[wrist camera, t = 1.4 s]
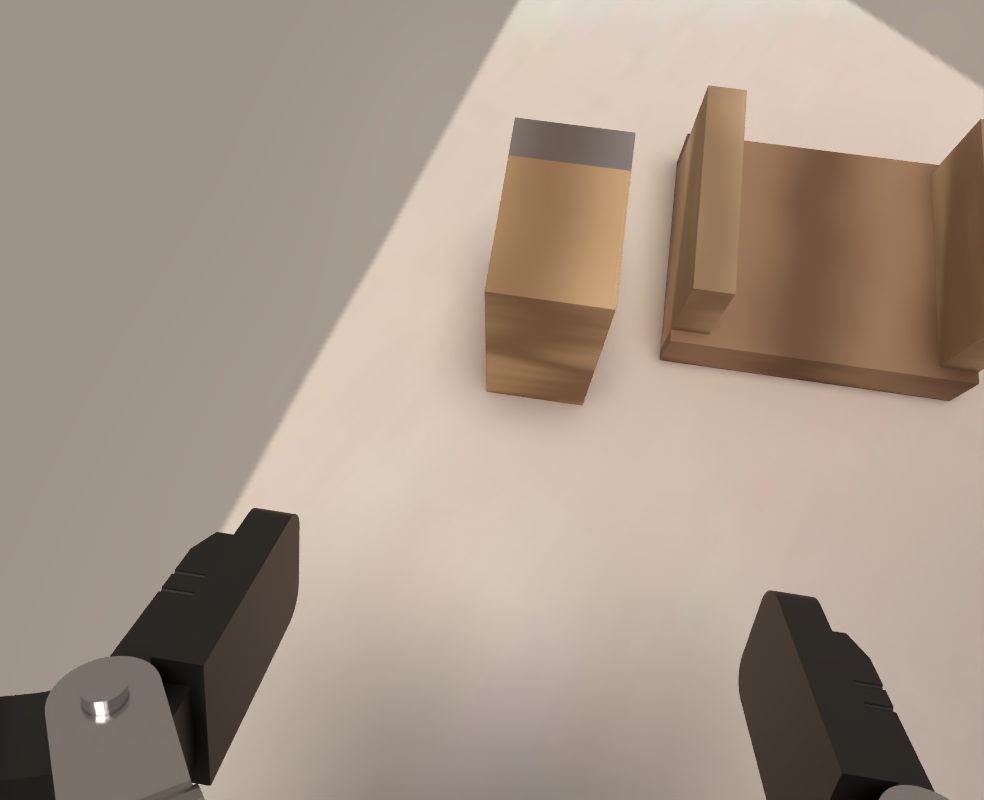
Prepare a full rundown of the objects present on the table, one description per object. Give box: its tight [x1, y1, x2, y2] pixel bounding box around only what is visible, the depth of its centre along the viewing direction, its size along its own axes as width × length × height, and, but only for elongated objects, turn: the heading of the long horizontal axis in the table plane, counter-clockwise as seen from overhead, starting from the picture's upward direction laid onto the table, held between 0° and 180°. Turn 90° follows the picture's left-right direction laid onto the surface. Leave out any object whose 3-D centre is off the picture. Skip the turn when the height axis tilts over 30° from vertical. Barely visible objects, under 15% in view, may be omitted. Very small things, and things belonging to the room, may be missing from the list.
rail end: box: [485, 118, 635, 405], centre depth 28 cm, size 4×6×9 cm, turn 171°
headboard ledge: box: [660, 86, 984, 401], centre depth 31 cm, size 12×10×6 cm
